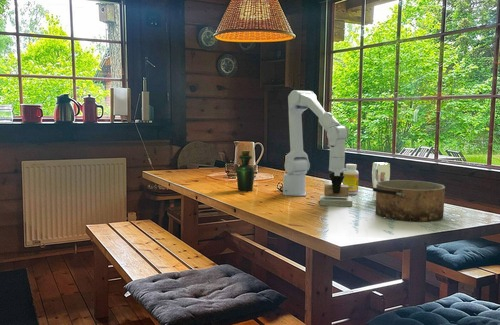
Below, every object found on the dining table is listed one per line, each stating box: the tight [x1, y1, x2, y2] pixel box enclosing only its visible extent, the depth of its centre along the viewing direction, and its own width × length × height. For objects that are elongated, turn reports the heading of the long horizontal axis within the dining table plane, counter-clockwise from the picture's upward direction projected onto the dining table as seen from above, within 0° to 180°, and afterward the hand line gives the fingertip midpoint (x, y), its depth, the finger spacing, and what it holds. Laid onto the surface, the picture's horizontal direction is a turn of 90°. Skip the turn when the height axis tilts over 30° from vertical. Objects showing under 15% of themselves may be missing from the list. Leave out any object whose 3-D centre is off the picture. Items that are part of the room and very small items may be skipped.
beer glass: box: [371, 161, 391, 202], centre depth 192 cm, size 7×7×15 cm
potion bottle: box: [235, 149, 255, 192], centre depth 211 cm, size 8×8×18 cm
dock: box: [319, 194, 353, 207], centre depth 184 cm, size 12×10×2 cm
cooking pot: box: [372, 179, 446, 223], centre depth 164 cm, size 30×22×11 cm
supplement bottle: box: [342, 163, 360, 196], centre depth 206 cm, size 7×7×13 cm
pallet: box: [323, 183, 349, 197], centre depth 184 cm, size 9×5×4 cm, turn 82°
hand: (336, 192), depth 184 cm, fingers closed on pallet, 5 cm apart
